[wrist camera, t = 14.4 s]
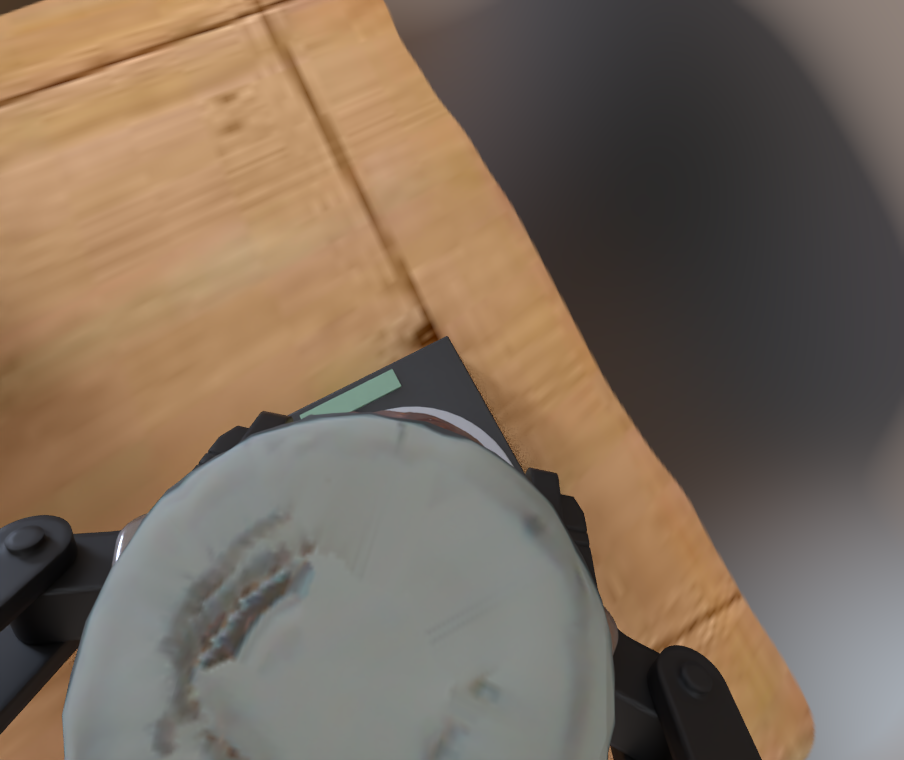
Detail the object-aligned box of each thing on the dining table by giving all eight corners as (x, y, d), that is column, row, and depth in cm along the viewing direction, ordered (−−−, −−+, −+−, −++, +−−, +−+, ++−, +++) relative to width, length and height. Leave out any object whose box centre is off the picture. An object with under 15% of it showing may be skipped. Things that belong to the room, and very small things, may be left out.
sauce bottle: (314, 472, 23) (-228, 349, 4) (440, 425, 24) (535, 128, 5) (359, 615, 22) (-97, 1546, 2) (491, 560, 23) (914, 925, 3)
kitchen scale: (245, 446, 31) (228, 441, 28) (445, 345, 33) (448, 332, 30) (361, 698, 28) (355, 720, 25) (570, 569, 30) (585, 577, 28)
